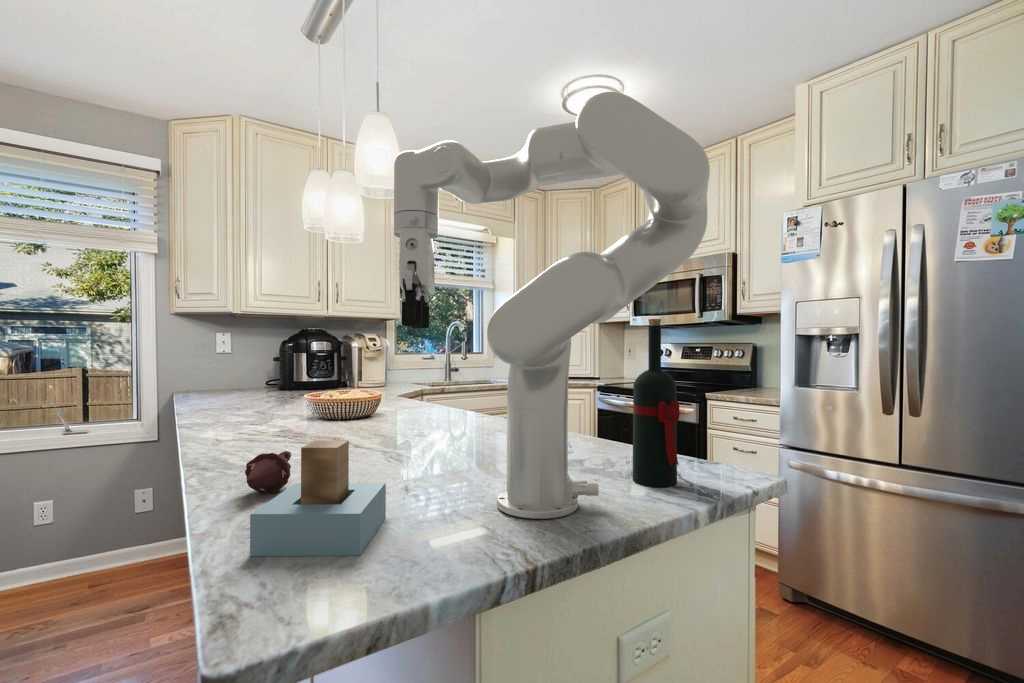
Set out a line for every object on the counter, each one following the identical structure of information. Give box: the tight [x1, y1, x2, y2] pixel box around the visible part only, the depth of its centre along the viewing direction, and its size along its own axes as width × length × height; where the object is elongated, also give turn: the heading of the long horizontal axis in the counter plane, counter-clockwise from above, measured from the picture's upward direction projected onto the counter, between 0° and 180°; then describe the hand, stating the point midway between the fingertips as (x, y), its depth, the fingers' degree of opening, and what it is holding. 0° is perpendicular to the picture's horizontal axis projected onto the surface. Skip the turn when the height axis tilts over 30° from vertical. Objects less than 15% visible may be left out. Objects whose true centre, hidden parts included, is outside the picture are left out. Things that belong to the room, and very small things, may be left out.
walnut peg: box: [300, 440, 350, 505], centre depth 65 cm, size 5×5×12 cm
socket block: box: [249, 482, 387, 557], centre depth 65 cm, size 13×13×5 cm
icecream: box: [244, 450, 292, 495], centre depth 83 cm, size 7×7×15 cm
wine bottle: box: [632, 318, 680, 489], centre depth 89 cm, size 8×10×30 cm
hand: (416, 327), depth 84 cm, fingers open, 9 cm apart
